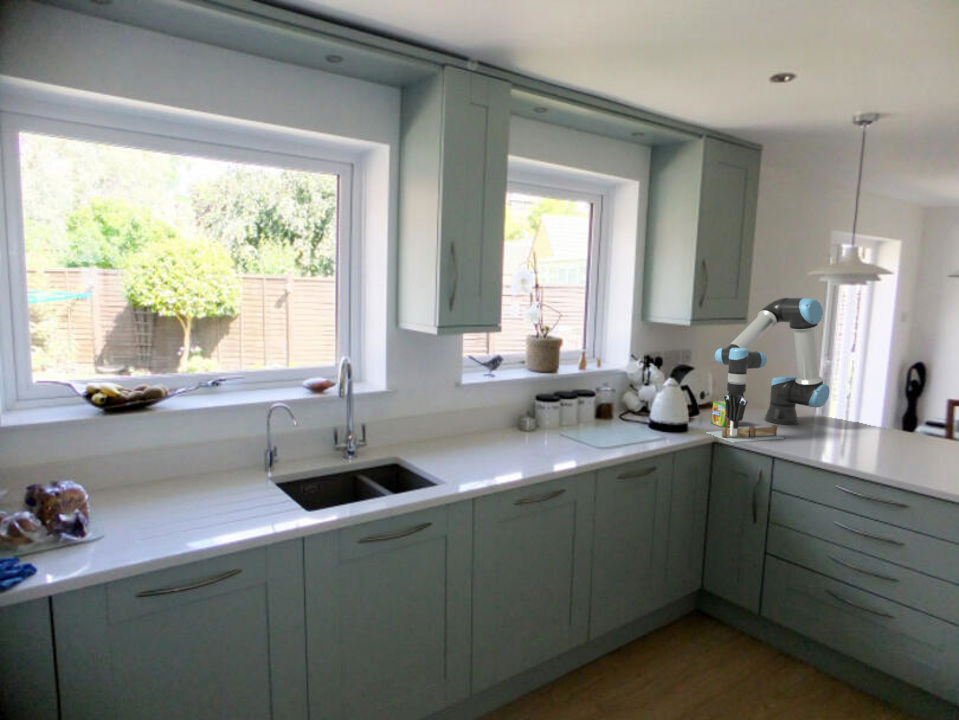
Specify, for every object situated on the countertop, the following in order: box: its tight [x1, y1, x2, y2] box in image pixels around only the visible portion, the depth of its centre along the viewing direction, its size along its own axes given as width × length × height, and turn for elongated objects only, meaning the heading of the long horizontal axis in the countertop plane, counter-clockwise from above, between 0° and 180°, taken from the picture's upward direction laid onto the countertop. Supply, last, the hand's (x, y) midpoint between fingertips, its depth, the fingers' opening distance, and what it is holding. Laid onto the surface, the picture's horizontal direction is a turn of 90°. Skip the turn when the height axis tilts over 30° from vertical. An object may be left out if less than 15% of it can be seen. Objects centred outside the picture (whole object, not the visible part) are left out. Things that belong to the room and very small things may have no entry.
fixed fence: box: [748, 424, 778, 438], centre depth 265 cm, size 2×15×5 cm, turn 108°
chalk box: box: [710, 394, 740, 428], centre depth 287 cm, size 9×9×15 cm
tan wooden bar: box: [721, 427, 749, 437], centre depth 263 cm, size 12×2×4 cm, turn 96°
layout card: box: [705, 430, 785, 444], centre depth 268 cm, size 18×28×1 cm, turn 108°
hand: (733, 435), depth 261 cm, fingers closed
